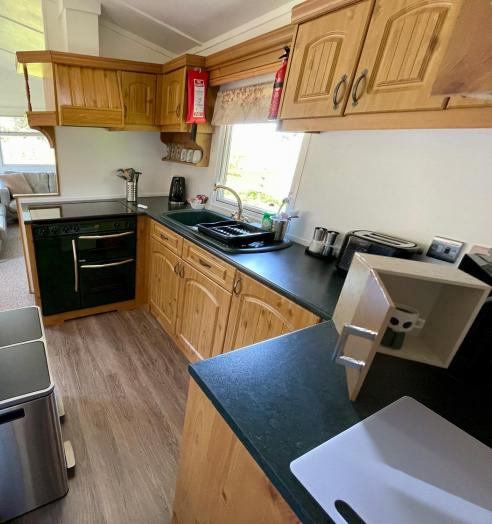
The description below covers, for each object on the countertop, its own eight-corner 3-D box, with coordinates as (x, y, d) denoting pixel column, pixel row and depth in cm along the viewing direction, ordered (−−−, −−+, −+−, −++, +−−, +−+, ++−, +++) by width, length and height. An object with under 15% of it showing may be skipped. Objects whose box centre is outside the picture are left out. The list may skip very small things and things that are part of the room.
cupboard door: (321, 389, 71) (356, 297, 62) (321, 338, 93) (346, 263, 84) (354, 401, 68) (395, 307, 59) (346, 345, 90) (375, 269, 80)
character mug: (367, 343, 90) (382, 306, 86) (366, 332, 96) (380, 298, 91) (412, 357, 85) (431, 319, 80) (408, 346, 90) (426, 310, 86)
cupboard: (447, 368, 83) (492, 287, 73) (343, 344, 91) (372, 267, 81) (419, 338, 97) (454, 266, 88) (331, 319, 105) (355, 251, 95)
